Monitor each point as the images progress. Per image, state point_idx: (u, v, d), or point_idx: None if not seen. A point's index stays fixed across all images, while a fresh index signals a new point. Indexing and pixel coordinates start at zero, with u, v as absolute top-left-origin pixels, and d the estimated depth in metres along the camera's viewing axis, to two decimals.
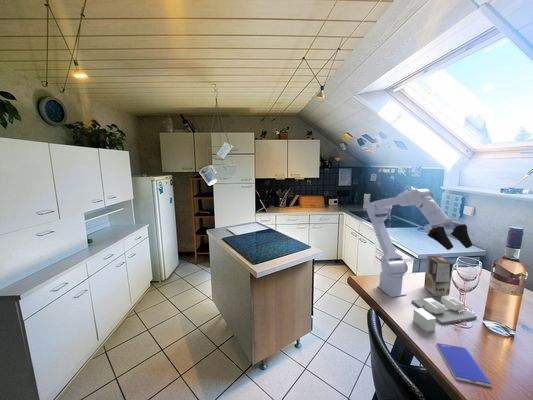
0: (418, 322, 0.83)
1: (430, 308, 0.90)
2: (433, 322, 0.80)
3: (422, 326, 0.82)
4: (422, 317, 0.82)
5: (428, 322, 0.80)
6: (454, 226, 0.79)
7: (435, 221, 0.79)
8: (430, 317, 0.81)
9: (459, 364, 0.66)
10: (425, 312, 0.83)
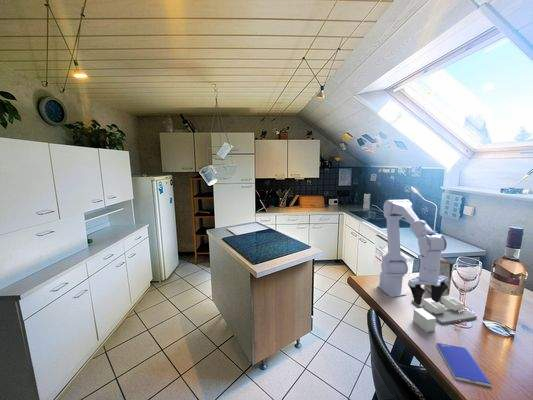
0: (418, 322, 0.83)
1: (430, 308, 0.90)
2: (433, 322, 0.80)
3: (422, 326, 0.82)
4: (422, 317, 0.82)
5: (428, 323, 0.80)
6: None
7: (424, 277, 0.79)
8: (430, 317, 0.81)
9: (459, 364, 0.66)
10: (425, 312, 0.83)
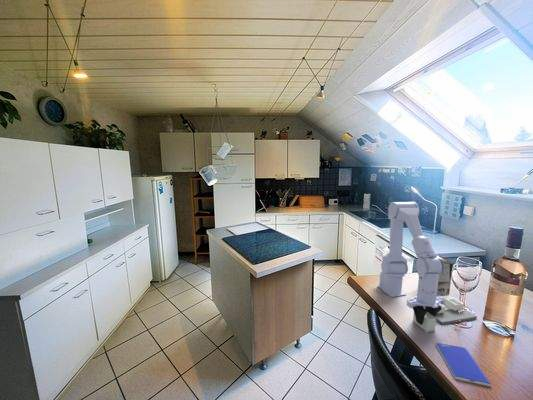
0: None
1: None
2: (433, 322, 0.80)
3: (422, 326, 0.82)
4: None
5: (428, 322, 0.80)
6: (435, 301, 0.82)
7: (422, 299, 0.80)
8: (430, 317, 0.81)
9: (459, 364, 0.66)
10: None
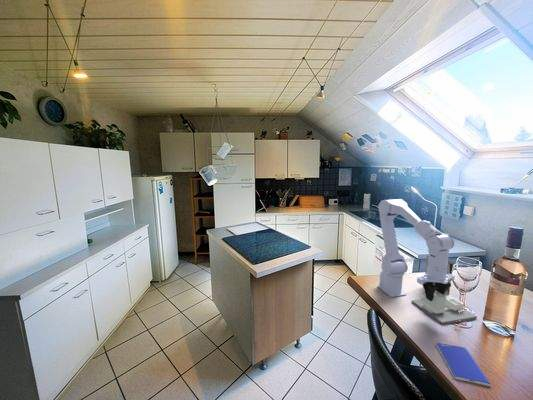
0: (428, 301, 0.86)
1: (430, 308, 0.90)
2: (443, 300, 0.82)
3: (432, 304, 0.84)
4: None
5: (438, 301, 0.82)
6: None
7: (432, 275, 0.83)
8: (440, 295, 0.83)
9: (458, 364, 0.66)
10: (435, 291, 0.86)
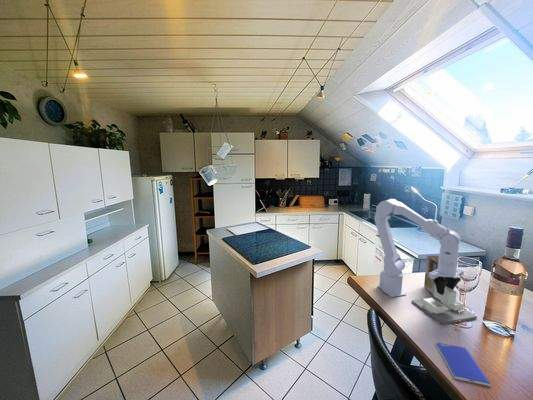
0: (439, 296, 0.91)
1: (430, 308, 0.90)
2: (454, 295, 0.87)
3: (443, 299, 0.89)
4: None
5: (449, 296, 0.87)
6: None
7: (443, 270, 0.88)
8: (451, 291, 0.88)
9: (458, 363, 0.66)
10: (446, 287, 0.91)
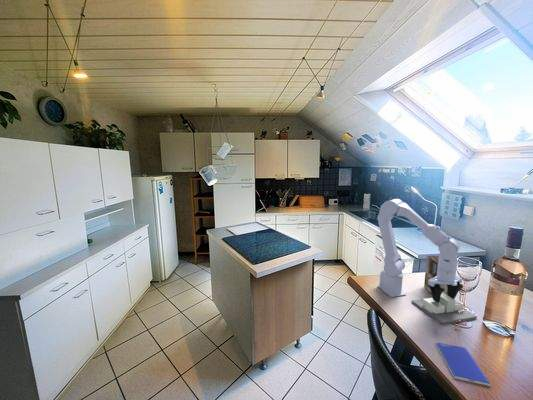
0: None
1: (430, 308, 0.90)
2: (452, 303, 0.88)
3: None
4: (442, 299, 0.90)
5: (448, 304, 0.88)
6: None
7: (442, 278, 0.88)
8: (449, 299, 0.89)
9: (458, 363, 0.66)
10: (444, 295, 0.91)
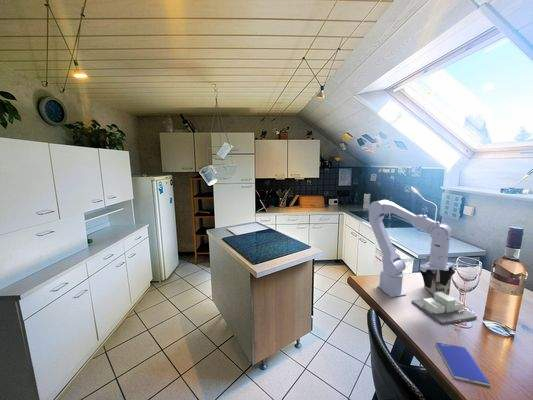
0: None
1: (430, 308, 0.90)
2: (452, 303, 0.88)
3: None
4: (442, 299, 0.90)
5: (448, 304, 0.88)
6: None
7: (434, 263, 0.88)
8: (449, 299, 0.89)
9: (458, 363, 0.66)
10: (444, 295, 0.91)
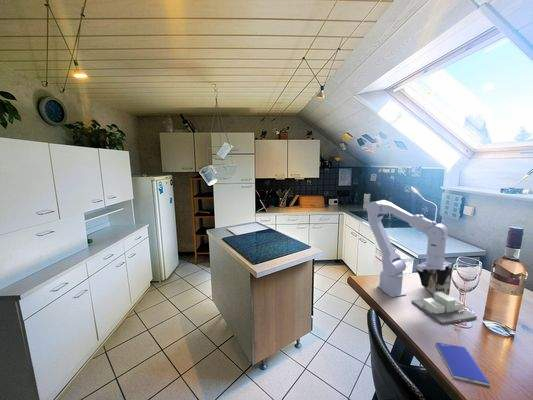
0: None
1: (430, 308, 0.90)
2: (452, 303, 0.88)
3: None
4: (442, 299, 0.90)
5: (448, 304, 0.88)
6: None
7: (430, 263, 0.89)
8: (449, 299, 0.89)
9: (458, 363, 0.66)
10: (444, 295, 0.91)
